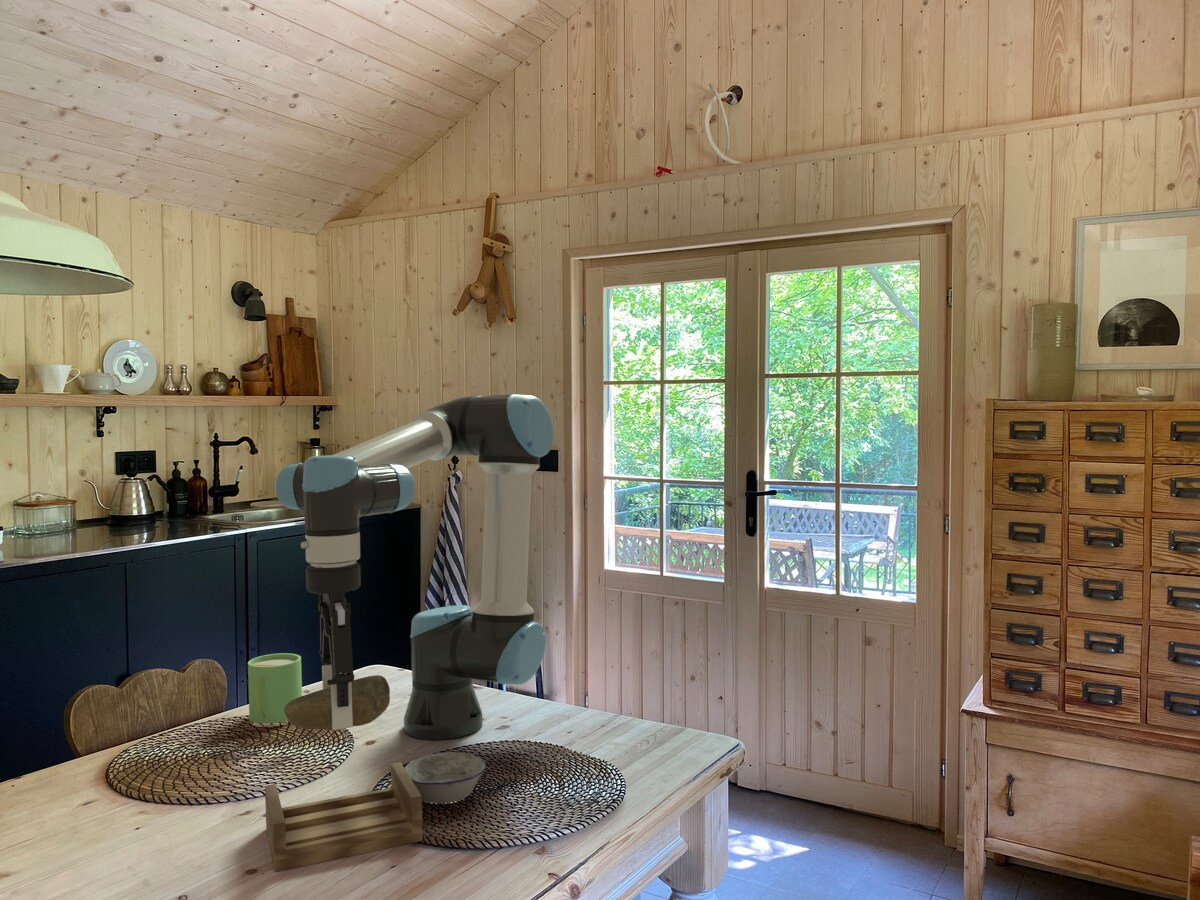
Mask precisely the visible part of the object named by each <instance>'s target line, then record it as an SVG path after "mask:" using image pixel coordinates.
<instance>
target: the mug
mask: <svg viewBox="0 0 1200 900" xmlns="http://www.w3.org/2000/svg"><path fill="white" fill-rule="evenodd" d="M247 675H248V677H247V678H248V679H247V680H246V683H245V685H248V697H247V698H248V710H249V711H248V713H249V714H248V715H249V716H248V717H249V722H250V721H252V722H255V723H266V724H267V723H279V722H285V721H289V720H288V718H287V717H286V715H285V713H284V708H285V706H286V704H287V703H289V702H290V701H292V700H294V699H296V698H298V697H301V696H303V690H302V689H303V682H302V681H303V680H302V656H301V655H299V654H296V653H286V652H284V653H282V652H281V653H271V654H266V655H265V654H264V655H260V656H257V657H254V658H251V659H250V660H248V662H247Z"/></svg>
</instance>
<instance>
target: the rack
mask: <svg viewBox="0 0 1200 900" xmlns="http://www.w3.org/2000/svg"><path fill="white" fill-rule="evenodd" d="M390 778H391V780H390V781H391V783H390V784H391V785H390V786H391V787H387V788H382V789H376V790H372V791H366V792H361V793H355V794H350V795H349V794H348V795H345V796H340V797H339V796H338V797H334V798H328V799H322V800H318V801H312V802H307V803H301V804H296V805H291V806H284V807H282V805H281V799H280V795H279V792H278V788H277V784H276V783H273V784H267V785H264V795H265V796H264V797H265V798H264V799H265V830H266V833H267V840H268V844H269V849H270V856H271V860H272V866H273V870H274V873H276V872H281V871H286V870H287V871H288V870H290V869H296V868H300V867H305V866H309V865H316V864H319V863H323V862H329V861H333V860H337V859H342V858H349V857H353V856H357V855H362V854H366V853H372V852H375V851H379V850H384V849H389V848H394V847H398V846H403V845H408V844H413V843H417V842H418V843H419V842H423V839H424V836H423V834H424V832H423V801H422V796H421V794H420V792H419V791H418V789H417V788H416V786H415V784H414V783H413V781H412V780H411V778H410V776H409V775H408V773H407V772H406V770H405V767H404V765H403V764H402V762H401V761H399V762H398V761H397V762H394V763H393V762H392V763H390Z"/></svg>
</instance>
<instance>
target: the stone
mask: <svg viewBox="0 0 1200 900" xmlns="http://www.w3.org/2000/svg"><path fill="white" fill-rule="evenodd" d="M351 682H352V717H353V727H360V726H364V725H367V724H370V723H372V722H373V721H376V719H377V718H379V717H380V716H381V715H382V714H383V713H385V711H386V710H387V708H388V707H389V705H390V701H391V697H390V696H391V695H390V694H391V692H390V691H391V688H390V685H389V683H388V681H387V679H386V678H385V677H384V676H383V675H379V674H377V675H368V676H364V677H360V678H356V679H354V680H353V681H351ZM284 713H285V715H286V717H287V718H288V720H289V721H290V722H291V723H292V725H293V726H295V727H297V728H300V729H304V730H333V729H332V706H331V687H329V688H326V689H323V688H322V689H319V690H316V691H313V692H309V693H308V694H304V695H302V696H301V697H298V698H296V699H294V700H292V701H290V702H289V703H287V704H286V706H285V708H284Z"/></svg>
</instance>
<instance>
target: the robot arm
mask: <svg viewBox="0 0 1200 900" xmlns="http://www.w3.org/2000/svg"><path fill="white" fill-rule="evenodd" d="M553 442H554V427H553V422H552V418H551V414H550V412H549V410H548V409H547V407H546V405H545V404H544V402H543V401H542V400H541V399H540V398H538V397H536V396H534V395H529V394H517V393H516V394H514V393H512V394H497V395H496V394H494V395H492V394H491V395H468V396H464V397H458V398H455V399H453V400H450V401H447V402H444V403H441V404H439V405H436V406H434V407H432V408H428V409H426V410H424V411H421V412H420V413H417V414H416V415H415V416H414V417H413V419H411V422H409V423H406V424H405V425H402V426H400V427H397V428H395V429H392V430H390V431H387V432H385V433H382V434H380V435H379V436H376V437H373V438H371V439H368V440H366V441H364V442H362V443H359V444H356V445H354V446H351V447H348V448H347V449H344V450H342V451H340V452H337V453H335V454H332V455H329V454H328V455H314V456H309V457H308V458H306V459H305V460H304V462H298V463H291V464H289V465H286V466H284V467H283V468H282V469H281V470H280V471H279V473H278V475H277V478H276V480H275V485H274V486H275V487H274V488H275V493H276V497H277V499H278V501H279V502H280V504H281V505H282V506H283V507H284V508H287V509H289V510H294V511H301V512H302V513H304V514H303V515H304V534H305V535H304V536H305V537H304V538H305V539H306V541H301V542H300V548H301V549H305V561H306V562H307V563H308V565H307V567H306V568H305V585H306V591H307V592H309V593H311V594H315V595H319V596H318V601H319V602H318V613H319V651H318V652H319V655H320V657H321V658H320V661H321V663H322V665H321V673H322V674H321V676H322V689H326V688H329V687H331V706H332V729H331V730H332V731H336V730H344V729H350V728H353V727H354V726H353V717H352V682H351V681H353V680H355V674H354V661H353V646H352V645H353V643H352V642H353V641H352V627H351V626H352V625H351V616H352V611H351V604H350V602H348V600H347V599H346V596H345V595H346V593H348V592H354V591H357V590H358V589H359V588H360V587H361V583H362V582H361V579H362V577H361V563H360V564H359V562H357V561H358V560H360V559H361V534H360V533H361V532H360V518H362V517H367V516H374V515H382V514H383V515H384V514H393V513H395V512H398V511H401V510H403V509H406V508H407V507H408V506H409V505H410V504H411V503H412V501H413V499H414V497H415V492H416V491H415V490H416V485H415V479H414V477H413V475H412V472H410V470H409V469H411V468H413V467H415V466H417V465H419V464H422V463H424V462H426V461H428V460H429V461H440V460H442V459H444V458H446V457H451V456H452V457H453V456H476V457H478V466H479V467H480V468H481V469H482V470H483V471H484V472H485V492H484V493H485V495H484V498H485V499H484V513H483V514H484V517H483V543H482V567H481V568H482V570H481V571H482V573H481V591H480V593H481V595H480V601H479V602H478V603H477V604H476V605H475V606H474V607H473V608H471V606H468V605H464V604H463V605H462V604H461V605H458V604H457V605H449V606H448V605H447V606H442V607H441V606H440V607H435V608H431V609H427V610H423V611H421V612H418V613H417V614H415V615H414V616H413V618H412V619H411V627H410V628H411V629H410V636H409V638H410V649H411V650H410V652H411V680H412V681H411V682H412V683H411V684H412V689H411V693H410V697H409V699H408V700H409V701H408V703H407V706H406V710H405V713H404V717H403V731H404V733H405V734H407V735H408V736H410V737H413V738H416V739H423V740H431V741H432V740H433V741H434V740H449V739H455V738H459V737H460V738H461V737H464V736H467V735H470V734H473V733H474V732H477V731H478V730H480V729H481V728H482V726H483V711H482V708H481V705H480V702H479V700H478V697H477V694H476V691H475V688H474V684H473V681H474V680H479V681H485V682H490V683H492V682H493V683H498V684H500V685H523V684H525V683H527V682H529V681H530V680H531V679H532V678H533V677H534V676H535V674H536V673H537V671H538V670H539V668H540V666H541V663H542V661H543V658H544V654H545V651H546V645H547V644H546V640H547V639H546V638H547V637H546V633H545V631H544V629H545V628H544V627H543V625H542V624H540V623H538V622H537V621H535V610H534V608H533V607H532V606H531V605H530V604H529V603H528V601H527V600H528V597H527V596H528V579H529V578H528V576H529V575H528V574H529V549H530V547H529V546H530V525H531V524H530V520H531V499H532V498H531V497H532V495H531V492H532V491H531V490H532V475H533V474H534V473H535V472H536V471H537V470H538V469H539V468H540V465H541V463H540V462H541V461H540V460H541V458H543V457H544V456H546V455H547V454H549V452H550V451H551V446H552V445H553Z"/></svg>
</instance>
